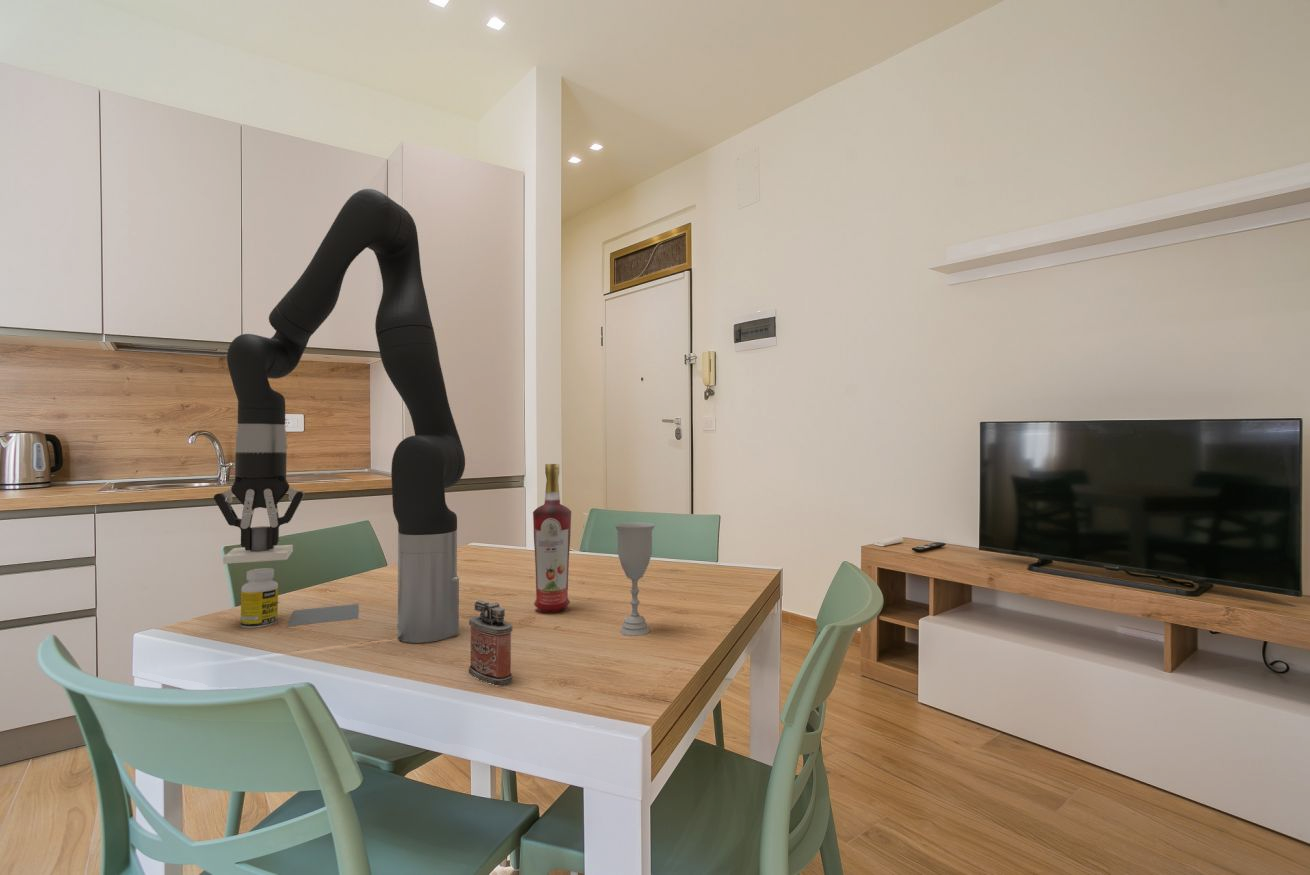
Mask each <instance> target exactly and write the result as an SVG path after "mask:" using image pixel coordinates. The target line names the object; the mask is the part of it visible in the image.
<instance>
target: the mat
mask: <svg viewBox="0 0 1310 875" xmlns="http://www.w3.org/2000/svg"><path fill="white" fill-rule="evenodd" d="M359 608H360V604H359V603H354V604H344V605H335V606H334V605H333V606H323V607H314V608H306V609H304V608H303V609H294V610H292V612H291V615H290V617H289V620H288V622H287V624H286V627H287V628H288V627H296V626H305V625H313V624H322V623H330V622H338V621H339V622H340V621H341V622H342V621H347V620H358V619H359Z"/></svg>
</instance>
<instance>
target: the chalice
mask: <svg viewBox="0 0 1310 875" xmlns="http://www.w3.org/2000/svg"><path fill="white" fill-rule="evenodd" d="M655 524H656V523H655ZM655 524H654V523H651V522H642V521H641V522H639V521H638V522H637V521H636V522H635V521H634V522H633V521H632V522H630V521H629V522H619V523H616V524H614V526H615V529H616V531H617V556H618V559H619V562H620V566H621V567H622V570H623V572H624V574H625V576H626V578H627V579H629V580H631V584H632V585H631V589H630V593H631V600H630V601H629V604H630V605H631V608H632V609H631V613H629V615H627V616H626V617H625V619H624V620H623V623H622V624H621V625H622V627H621V628H620V630H619V632H620V633H621V634H624V635H627V636H642V635H646V634H648V633H650V628H649V626H648V623H647V622H646V621H647V620H646V618H645V617H644V616H643V615H640V612H638V606H639V604H640V602H641V601H640V600H639V598H638V596H639V593H640V589H639V587H638V582H639V580H640V579H642V578H643V577H644V575H645V573H646V571H647V569H648V566H649V564H650V560H651V557H652V555H653V530H654V528H655V526H656V525H655Z"/></svg>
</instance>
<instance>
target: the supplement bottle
mask: <svg viewBox="0 0 1310 875" xmlns="http://www.w3.org/2000/svg"><path fill="white" fill-rule="evenodd" d="M274 576H275V569H274V568H272V567H271V568H270V567H263V568H262V567H261V568H254V569H249V570H247V571H246V581H247V582H245V583H244V584H242V586H241V590H240V592H241V593H240V627H241V628H245V629H247V628H251V629H252V628H261V627H266V626H270V625H274V624H276V623H277V622H278V616H279V615H278V612H279V611H278V610H279V609H278V608H279V584H278V582H277V581H275V580H273V579H274Z"/></svg>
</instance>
